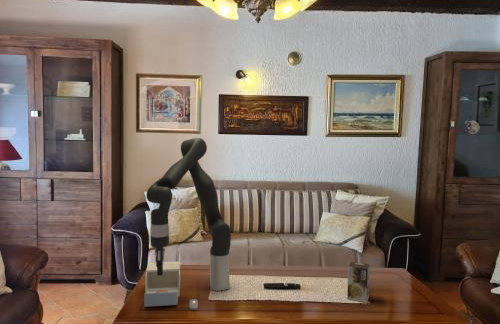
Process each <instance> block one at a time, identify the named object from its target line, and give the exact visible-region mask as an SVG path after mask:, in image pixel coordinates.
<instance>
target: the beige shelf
mask: <svg viewBox="0 0 500 324" xmlns="http://www.w3.org/2000/svg"><path fill="white" fill-rule="evenodd" d="M144 279H145V280H144V281H145V282H144V283H145V292H144V293H147V289H158V288H176V287H178V297H180V293H181V261H163V275H159V276H158V275H157V267H156V262H148V263H147V267H146V270H145V277H144Z"/></svg>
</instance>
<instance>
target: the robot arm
mask: <svg viewBox="0 0 500 324" xmlns="http://www.w3.org/2000/svg"><path fill="white" fill-rule="evenodd" d="M181 142H182V143H181V144H180V153H181V156H182V158H181V159H179V160H178V161H176V162H175V163H173V164H172V165H171V166H170V167H169V168H168V170H167V171H166V172H165V173H164V175H163V176H162V177H161V178H159V179H158V180H156V181H155V182H154V183H152V184H151V185H150V186H149V188H147V191H146V200H147V201H148V202H150V203H153V204H159V207H158V208H154V209H152V210H151V211H150V212H151V213H150V246H151V247H153V248H155V250H154V256H155V263H156V267H157V275H158V276H159V275H163V262H165V254H166V253H165V252H166V249H165V247H167V246H169V244H170V226H169V212H170V209H171V204H172V201H173V192H172V190H173V189H175V188H176V187H177V186H178V184H179V183H180V182H181V180H182V179H183V177H184V176H185V175H186V174H187V173H188V172H189V174H190V176H191V179H192V182H193V184H194V185H193V186H194V188H195V191H196V194H197V197H198V200H199V203H200V206H201V208H202V210H203V212H204V215H205V219H206V223H207V229H208V233H209V235H210V236H211V237H212V238H211V239H212V240H211V247H210V249H209V251H210V252H209V264H210V265H209V288H210V290H211V291H215V290H216V291H215V292H222V291H221V290H223V291H227V290H230V249H231V242H232V237H231V236H232V235H231V234H232V233H231V232H232V231H231V227H230V225H229V224H228V223H226V222H225V221H224V219H223V216H222V214H221V212H220V208H219V198H218V192H217V188H216V185H215V183H214V180H213V179H212V177H211V176H210V175H209V174H208V173H207V172H206V171H205V170H204V169H203V167H202V166H201V164H200V162H199V160H201V159H202V158H203V157H204V156H205V155H206V153H207V150H208V146H207V143H206V141H205V140H204V139H203V138H201V137H196V138H190V139H185V140H183V141H181ZM226 289H227V290H226Z"/></svg>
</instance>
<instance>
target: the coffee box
mask: <svg viewBox="0 0 500 324" xmlns="http://www.w3.org/2000/svg"><path fill="white" fill-rule="evenodd" d="M370 265H371V264H368V263H363V262H355V261H350V262H349V264H348V266H347V298H346V299H347V300H349V301H357V302H361V303H362V302H363V303H368V301H369V298H370V297H369V295H370V292H369V291H370Z"/></svg>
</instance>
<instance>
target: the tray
mask: <svg viewBox="0 0 500 324" xmlns="http://www.w3.org/2000/svg"><path fill="white" fill-rule="evenodd" d="M159 290H167V291H168V292H157V293H156V291H159ZM143 298H144V301H143V302H144V303H143V305H144V306H143V307H144V308H145V307H162V306H177V305H179V304H178V303H179V301H178V300H179V296H178V287H176V288H158V289H147V293H145V292H144V293H143Z"/></svg>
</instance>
